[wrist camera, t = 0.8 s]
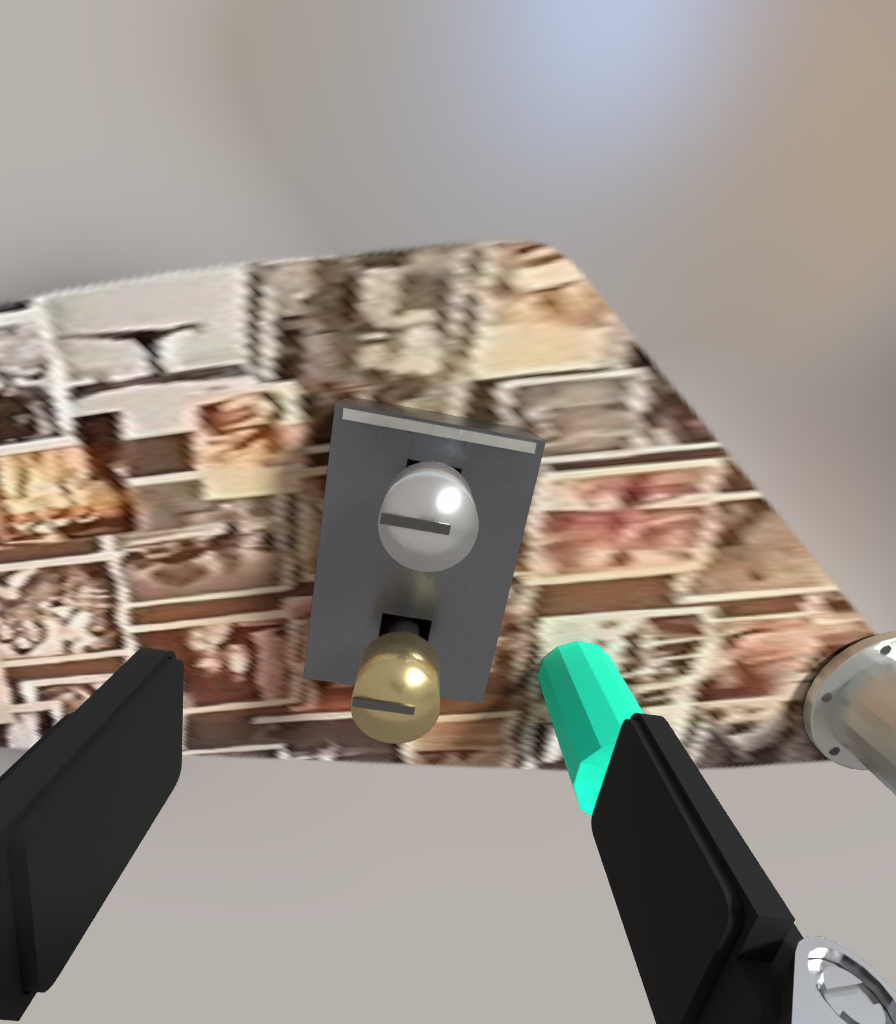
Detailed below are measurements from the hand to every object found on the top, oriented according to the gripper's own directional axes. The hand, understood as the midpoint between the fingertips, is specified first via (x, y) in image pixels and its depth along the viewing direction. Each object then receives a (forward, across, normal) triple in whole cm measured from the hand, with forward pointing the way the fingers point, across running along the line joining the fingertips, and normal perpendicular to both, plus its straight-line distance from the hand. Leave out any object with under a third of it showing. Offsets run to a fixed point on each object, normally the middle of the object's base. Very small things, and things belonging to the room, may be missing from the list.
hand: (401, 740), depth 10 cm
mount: (+24, 0, +5) cm, 25 cm away
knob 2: (+21, 0, +10) cm, 23 cm away
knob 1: (+21, 0, 0) cm, 21 cm away
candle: (+25, -14, +14) cm, 32 cm away
